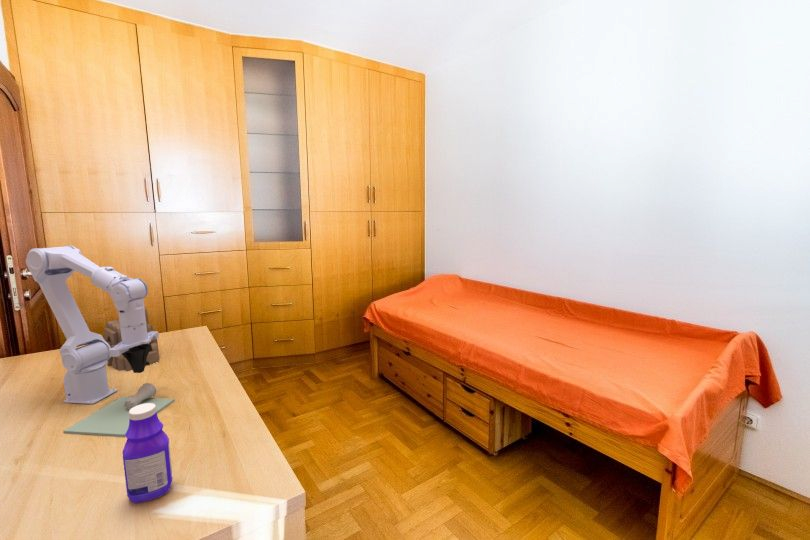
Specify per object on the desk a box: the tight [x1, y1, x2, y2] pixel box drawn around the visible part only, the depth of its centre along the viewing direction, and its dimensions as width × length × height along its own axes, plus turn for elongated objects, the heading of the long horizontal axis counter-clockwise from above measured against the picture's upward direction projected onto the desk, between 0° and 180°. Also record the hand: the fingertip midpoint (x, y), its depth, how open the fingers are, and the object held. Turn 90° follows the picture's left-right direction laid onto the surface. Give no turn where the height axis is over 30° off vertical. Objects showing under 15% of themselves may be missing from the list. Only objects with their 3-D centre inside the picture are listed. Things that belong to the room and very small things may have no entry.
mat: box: [62, 396, 176, 438], centre depth 98 cm, size 16×17×1 cm
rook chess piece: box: [124, 382, 158, 410], centre depth 103 cm, size 4×4×8 cm
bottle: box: [122, 403, 174, 504], centre depth 70 cm, size 7×6×17 cm
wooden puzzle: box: [103, 306, 160, 372], centre depth 134 cm, size 22×15×19 cm, turn 53°
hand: (138, 371), depth 103 cm, fingers closed
